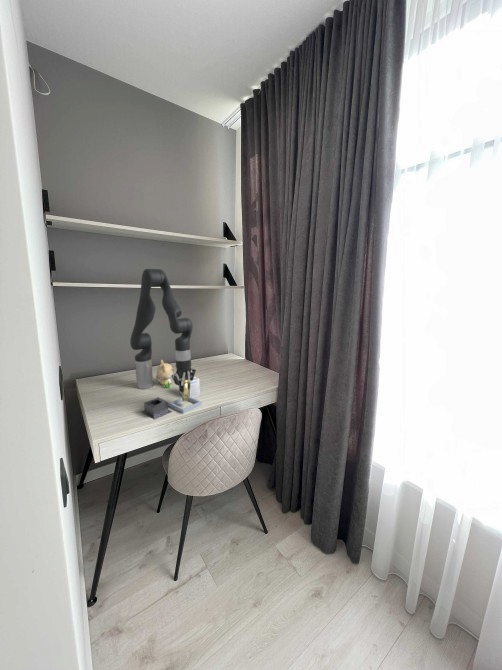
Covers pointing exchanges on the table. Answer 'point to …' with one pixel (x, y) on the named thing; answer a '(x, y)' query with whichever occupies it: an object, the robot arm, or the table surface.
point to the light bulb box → (194, 388)
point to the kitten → (164, 374)
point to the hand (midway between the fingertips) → (184, 390)
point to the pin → (185, 390)
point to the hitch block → (156, 408)
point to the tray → (197, 404)
